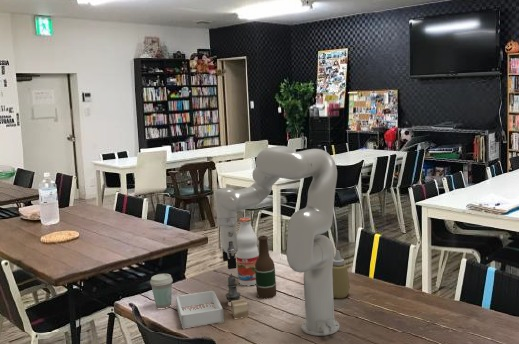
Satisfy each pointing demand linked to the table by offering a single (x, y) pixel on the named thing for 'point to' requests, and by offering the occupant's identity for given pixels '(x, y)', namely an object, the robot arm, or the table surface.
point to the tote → (199, 315)
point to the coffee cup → (162, 290)
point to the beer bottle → (265, 271)
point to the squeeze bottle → (340, 277)
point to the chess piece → (232, 289)
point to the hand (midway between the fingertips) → (229, 264)
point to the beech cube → (239, 308)
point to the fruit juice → (246, 252)
